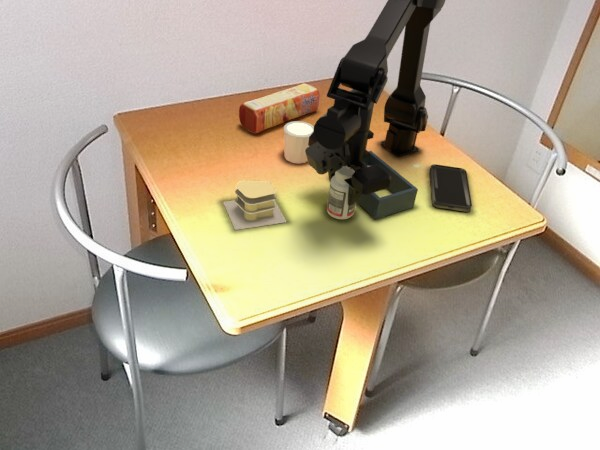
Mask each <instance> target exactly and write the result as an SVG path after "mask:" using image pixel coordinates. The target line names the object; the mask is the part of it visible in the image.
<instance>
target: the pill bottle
mask: <svg viewBox="0 0 600 450" xmlns="http://www.w3.org/2000/svg"><path fill="white" fill-rule="evenodd" d="M354 173H355V171H354V170H353V169H348V168H347V167H346V166H342V168H341V169H339V170H337V171H336V172H335V175H334V176H333V177H332V178H331V181H330V180H329V187H328V197H327V203H326V212H327V214H328V215H329V216H330V217H332V218H334V219H336V220H347V219H350V218H351V217H352V216H354V213H355V209H356V204H357V202H355V203H354V205H351V206H349V205H348V191H349V184H347V183H346V182H345V181H344V180H345V179H348V178H352V175H353V174H354Z"/></svg>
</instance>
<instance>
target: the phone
mask: <svg viewBox="0 0 600 450" xmlns="http://www.w3.org/2000/svg"><path fill="white" fill-rule="evenodd" d="M429 176H430V177H429V180H430V181H429V182H430V195H431V205H432V206H433V207H435V208H436V209H443V210H448V211H449V210H450V211H457V212H464V213H468V212H471V211H472V210H471V209H472V206H473V203H472V197H471V191H470V186H469V180H468V178H469V177H468V172H467V170H466V169H465V168H462V167H456V166H449V165H443V164H433V163H432V164H431V165H430V168H429Z"/></svg>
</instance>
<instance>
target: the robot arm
mask: <svg viewBox="0 0 600 450" xmlns="http://www.w3.org/2000/svg"><path fill="white" fill-rule="evenodd" d="M445 3H446V0H387V1H386V3H385V4H384V6H383V8H382V10H381V11H380V13H379V15H378V17H377V18H376V20H375V22H374V23H373V25H372V27H371V29H370V30H369V32H368V33H367V35H366V37H365V38H364V39H362V40H360V41H358V42H356V43H354V44H352V46H351V47H350V48H349V50H348V51H347V52H346V54H345V55H344V56H343V57H342V58H341V59H340V61H339V62H338V65H337V66H336V67H337V68H336V70H335V72H334V75H333V78H332V80H331V83H330V85H329V88H328V91H327V93H326V97H327V98H329V99H331V100H334V102H333V105H332V106H330V107H329V108H328V109H327V110H326V112H325V113H324V114H322V116H320V117H319V118H318V119H317V120H316V122H315V123H314V125H313V126H314V132H313V133H312V134H311V135H310V136H309V142H308V145H309V147H308V148H306V150H305V152H306V156H307V160H308V161H307V163H308V166H309V167H311V168H312V169H313V170H315V172H316V173H317V174H318V175H326V174H328V179H329V182H330V181H331V178H332V177H333V176H334V175H335V172H336V171H337V170H339V169H341V168H342V166H346V167H347V168H348V169H353V170H354V171H355V173H354V174H353V175H352V178H348V179H345V180H344V181H345V182H346V183H347V184H349V191H348V205H349V206H351V205H354V203H355V202H356V201H357V200H358V199H359V197H360V196H361V195H362V194H364V195H367V194H371V193H378V192H380V191H383V190H389V189H388V188H389V187H390V182H391V176H390V175H389V174H388V173H387V172H385V171H384V170H383V169H382V168H381V167H379V166H378V165H377V164H376V165H373V166H368V165H366V164H365V163H364V162H363V159H367V158H369V157H370V153H369V152H368V151H369V150H367V145H368V141H369V140H371V139H374V135H375V133H374V132H373V131H372V130H370V129H371V123H372V117H373V112H374V107H375V105H376V104H378V102H379V100H380V98H381V95H382V93H383V91H384V89H385V87H386V85H387V83H388V73H389V68H388V66H389V65H388V58H389V56H390V54H391V52H392V50H393V49H394V47H395V45H396V43H397V41H398V40H399V38H400V36H401V34H402V33H403V31H404V33H403V41H402V47H401V55H400V63H399V70H398V72H399V73H398V78H397V86H396V87H395V88H394V90H393V91H392V92H391V93H390V94H389V95H388V97H387V99H386V101H385V104H384V108H383V123H388V129H387V130H386V134H385V140H382V141H381V142H380V144H381V146H383V147H384V148H385V149H386V150H388V151H389V152H390V153H391V154H393V155H394V156H395V157H397V158H398V157H402V156H406V155H410V154H414V153H417V152H419V151H420V149H419V147H418V146H416V142H417V137H418V134H420V133H421V132H425V131H426V129H427V125H428V120H429V115H428V110H427V108H426V107H425V106H426V94H425V93H424V91H423V89H422V88H423V87H422V86H421V81H422V77H423V76H422V75H423V70H424V63H425V58H426V52H427V46H428V40H429V33H430V26H431V24H432V21H433V20H434V19H435V18H436V17H437V16H438V15H439V13H440V12H441V11H442V8H443V7H444V5H445ZM340 86H342V87H345V88H348V89H350V90H346V89H344V88H341V87H340ZM356 203H357V202H356Z"/></svg>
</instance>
